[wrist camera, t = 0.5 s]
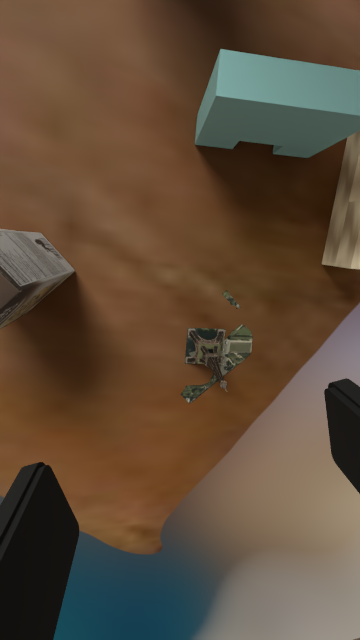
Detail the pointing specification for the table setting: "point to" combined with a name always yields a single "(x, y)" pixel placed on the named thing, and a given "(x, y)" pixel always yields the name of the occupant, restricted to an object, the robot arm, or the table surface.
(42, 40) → the table surface
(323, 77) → the cross plate
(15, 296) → the coffee box
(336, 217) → the slotted board
